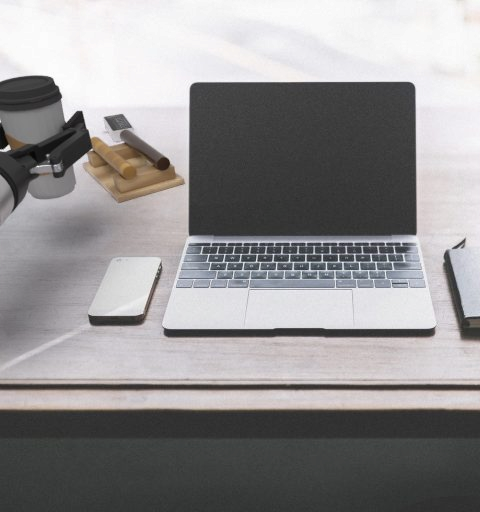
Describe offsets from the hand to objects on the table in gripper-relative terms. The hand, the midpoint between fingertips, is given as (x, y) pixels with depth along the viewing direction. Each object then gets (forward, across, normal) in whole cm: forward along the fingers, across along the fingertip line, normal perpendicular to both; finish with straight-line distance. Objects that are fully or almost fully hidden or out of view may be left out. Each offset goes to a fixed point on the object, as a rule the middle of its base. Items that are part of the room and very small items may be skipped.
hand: (49, 121), depth 86 cm
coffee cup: (-5, 0, -8) cm, 10 cm away
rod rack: (+21, +4, -18) cm, 27 cm away
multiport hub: (+44, -4, -18) cm, 48 cm away
